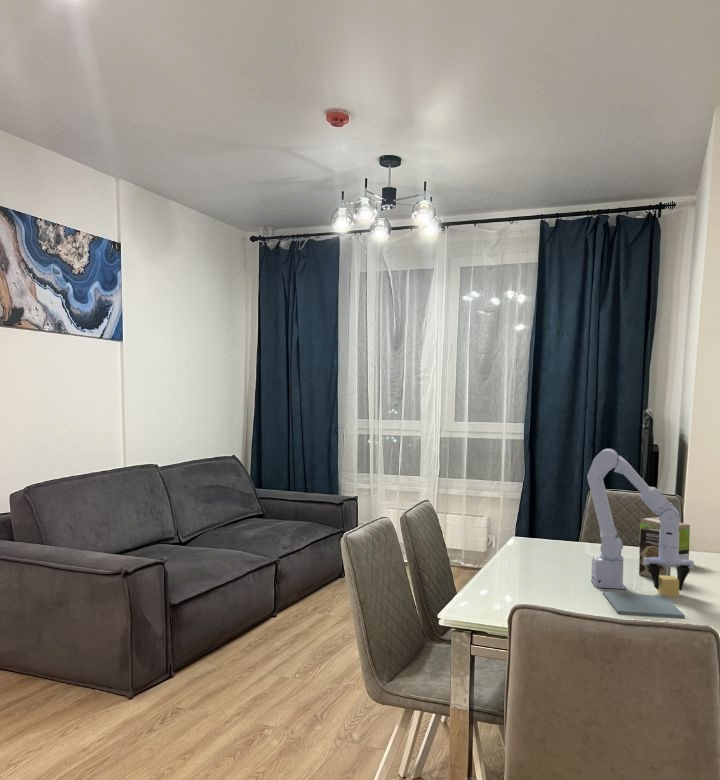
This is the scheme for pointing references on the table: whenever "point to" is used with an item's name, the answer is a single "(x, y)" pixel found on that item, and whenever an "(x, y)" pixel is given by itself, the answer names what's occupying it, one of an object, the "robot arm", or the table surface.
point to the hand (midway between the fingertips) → (667, 588)
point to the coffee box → (650, 551)
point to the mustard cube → (668, 585)
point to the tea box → (683, 535)
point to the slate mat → (642, 605)
